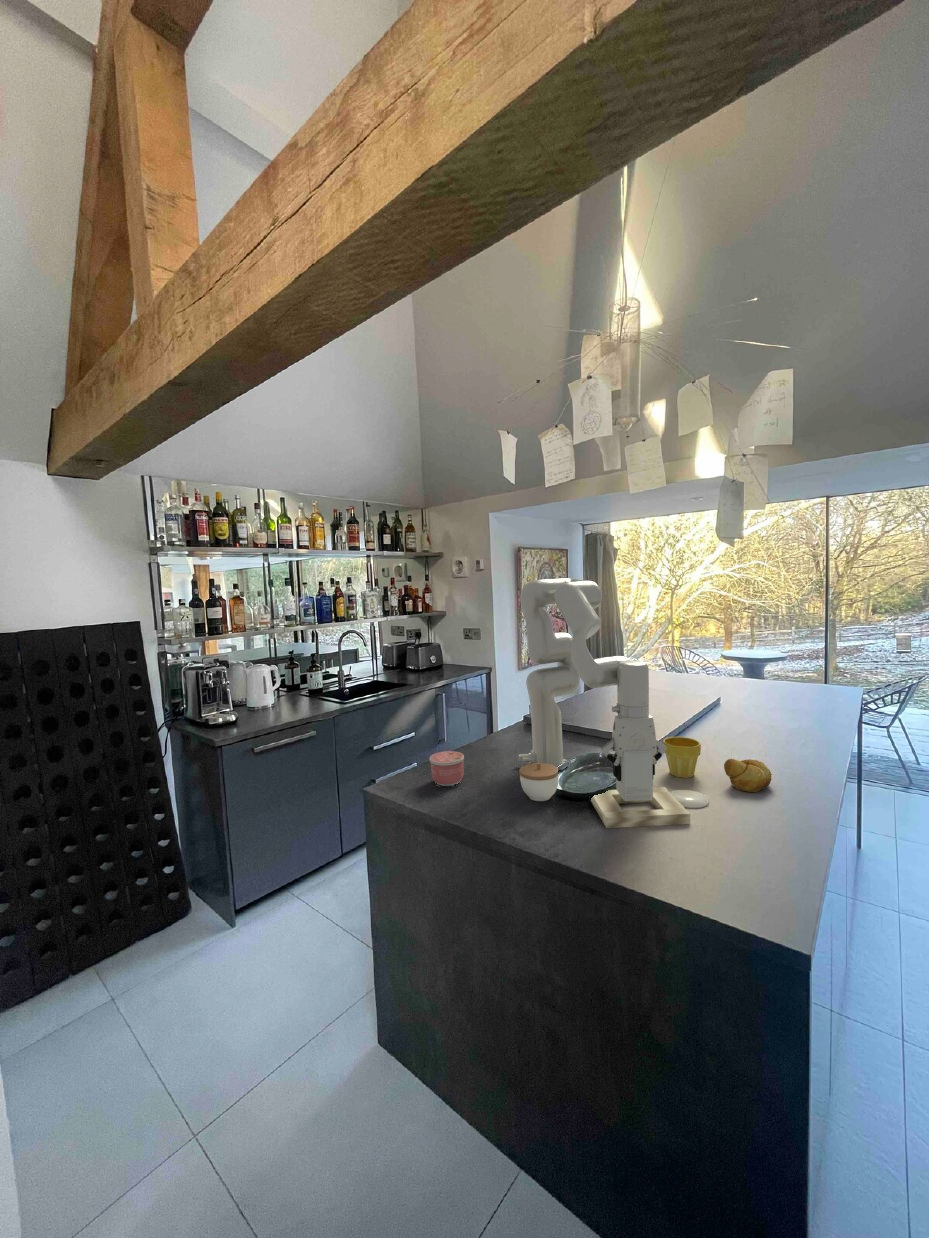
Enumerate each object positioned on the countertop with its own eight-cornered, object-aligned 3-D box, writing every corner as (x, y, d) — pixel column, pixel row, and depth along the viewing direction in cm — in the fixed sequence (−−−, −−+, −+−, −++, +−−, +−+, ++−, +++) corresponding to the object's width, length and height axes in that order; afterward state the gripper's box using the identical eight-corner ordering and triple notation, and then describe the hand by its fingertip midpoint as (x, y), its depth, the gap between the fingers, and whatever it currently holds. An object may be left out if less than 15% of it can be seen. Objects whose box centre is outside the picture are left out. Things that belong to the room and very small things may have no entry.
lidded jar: (561, 789, 147) (559, 757, 146) (557, 806, 136) (556, 771, 136) (523, 787, 149) (522, 756, 149) (517, 803, 139) (515, 769, 138)
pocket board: (606, 828, 123) (606, 817, 123) (590, 800, 139) (589, 790, 139) (690, 823, 123) (690, 813, 122) (664, 796, 139) (664, 787, 138)
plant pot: (703, 770, 155) (702, 738, 155) (699, 782, 146) (698, 748, 146) (666, 765, 161) (665, 734, 160) (660, 777, 152) (659, 744, 151)
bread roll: (749, 775, 149) (748, 748, 149) (783, 786, 141) (783, 757, 140) (720, 786, 143) (720, 758, 143) (754, 798, 135) (754, 768, 134)
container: (458, 790, 150) (457, 763, 150) (425, 787, 154) (423, 761, 153) (469, 777, 160) (468, 751, 160) (438, 774, 164) (437, 750, 163)
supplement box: (653, 800, 127) (653, 751, 126) (623, 801, 128) (623, 752, 126) (643, 788, 135) (643, 741, 134) (615, 789, 135) (614, 742, 134)
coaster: (676, 809, 131) (676, 806, 131) (661, 793, 141) (661, 790, 141) (716, 807, 130) (716, 804, 130) (698, 791, 140) (698, 789, 140)
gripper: (602, 716, 125) (603, 785, 127) (673, 713, 125) (674, 783, 127) (594, 707, 133) (595, 773, 135) (662, 705, 133) (662, 771, 134)
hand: (633, 777), depth 131 cm, fingers closed on supplement box, 7 cm apart
